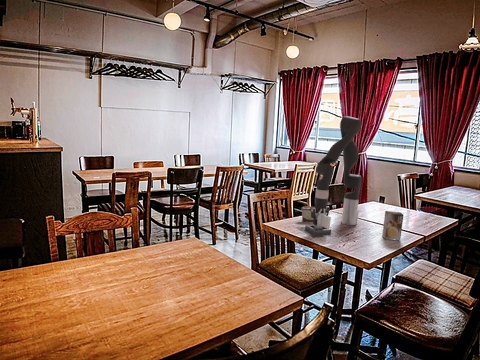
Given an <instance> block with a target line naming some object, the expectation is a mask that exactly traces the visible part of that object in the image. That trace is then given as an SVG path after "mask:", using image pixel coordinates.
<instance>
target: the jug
mask: <svg viewBox="0 0 480 360" xmlns="http://www.w3.org/2000/svg"><path fill="white" fill-rule="evenodd" d="M316 214H318V213H316ZM316 216H317V215H316ZM331 219H332V217H331V216H329V215H328V216H326V215H324V213H320V215H319V216H318V220H317V225H314V224H313V225H314V229H316V230H321V229H323V227H325V228H329V229H331V221H332V220H331Z"/></svg>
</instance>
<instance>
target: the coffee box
mask: <svg viewBox="0 0 480 360" xmlns="http://www.w3.org/2000/svg"><path fill="white" fill-rule="evenodd" d="M403 222H404V214H403V212H399V211H392V210H385V211H384V218H383V226H382V237H384V238H385V239H384V238H383V239H384V240H388V239H396V240H395V241H398V240H400V241H401V238H402V230H403Z"/></svg>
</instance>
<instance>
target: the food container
mask: <svg viewBox="0 0 480 360" xmlns="http://www.w3.org/2000/svg"><path fill="white" fill-rule="evenodd" d="M311 208H315V206H310V205H309V206H308V205H307V206H302V207H301V208H300V209H301V210H300V211H301V217H302V218H301V222H302V223H305V222H310V223H313V221H314V219H313V218H311Z"/></svg>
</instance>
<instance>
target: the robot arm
mask: <svg viewBox="0 0 480 360" xmlns="http://www.w3.org/2000/svg"><path fill="white" fill-rule="evenodd" d="M361 127H362V120H361V119H359V118H356V117H352V116H349V115H346V116H345V115H344V116H343V117H342V118H341V120H340V123H339V129H340V136H341V139H339V140H337V141H336V142H334V144H333V145H331V146H330V148H329V150H328V151H327V153H326V155H325V156H324V157H323V158H322V159H321V160H319V162H318V163H317V165H316V166H315V167H316V168H315V171H316V173H317V175H321V177H322V178H319V179H318V180H317V182H316V190H315V197H314V207H315V208H311V218H313V219H314V221H313V222H312V225H317V220H318V216H319V215H320V213H324V215H326V216H329V214H330V210H331V208H330V207H329V206H328V204H329V203H328V201H329V190H330V189H329V187H330V182H331V180H332V177H333V175H334V167H333V165H332V164H335V163H337V161H338V160H339V158H340V156H341V155H342V156H343V157H342V158H343V186H344V187H345V188H349V189H353V191H351V192H346V193H344V198H343V206H342V214H341V215H342V216H341V223H342V224H343V225H347V226H355V225H358V218H359V210H358V208H359V200H360V194H361V187H362V181H363V179H362V176H361V175H360V174H354V173H351V170H352V169H353V168H354V166H355V165H356V164H357V162H358V160H359V148H358V146H357V144H356V142H355V141H354V138H355V136H357V135H358V133H359V131H360V130H361ZM316 213H318V214H316ZM316 215H317V216H316Z"/></svg>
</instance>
